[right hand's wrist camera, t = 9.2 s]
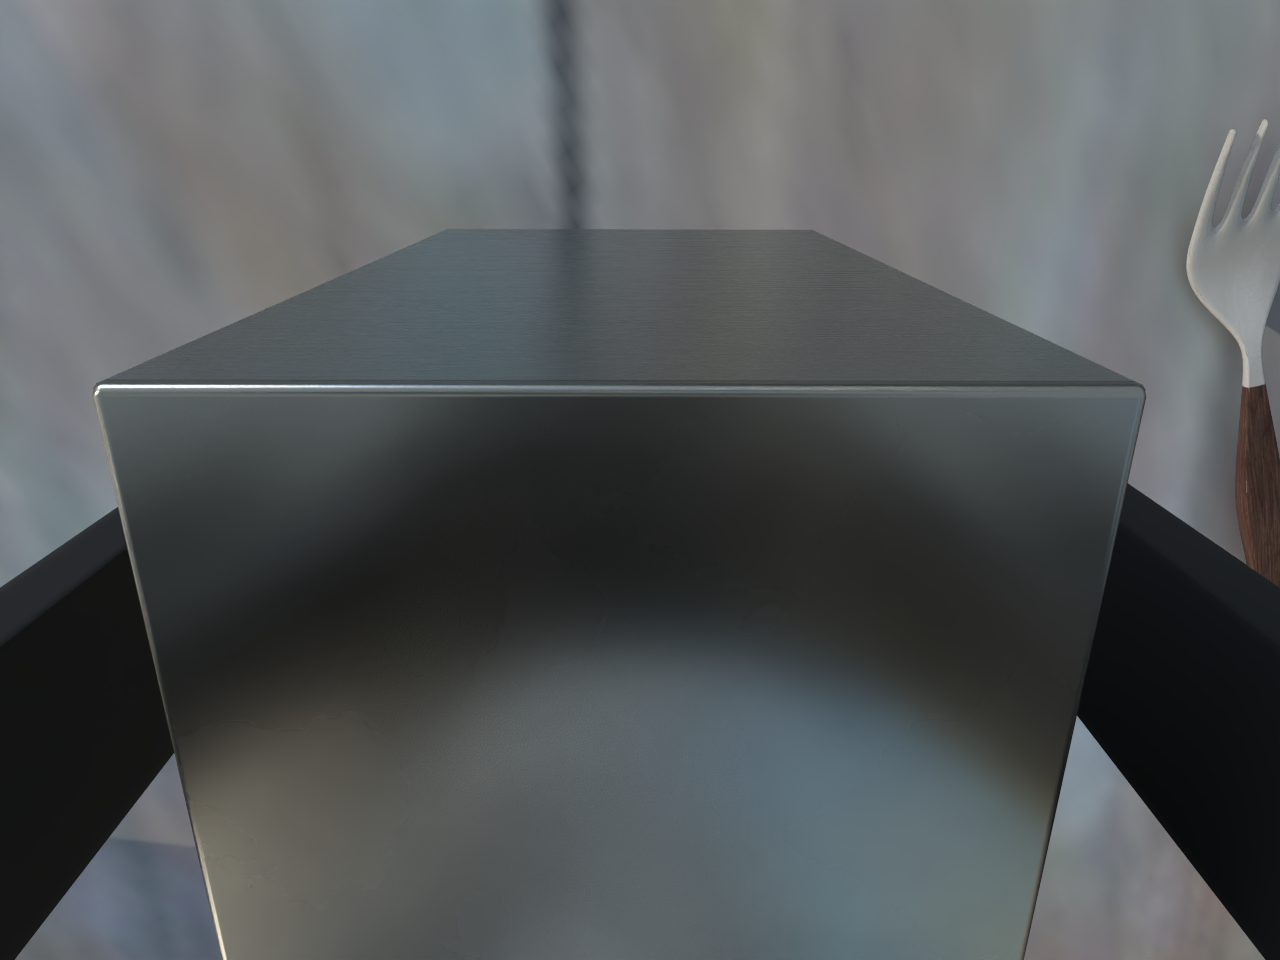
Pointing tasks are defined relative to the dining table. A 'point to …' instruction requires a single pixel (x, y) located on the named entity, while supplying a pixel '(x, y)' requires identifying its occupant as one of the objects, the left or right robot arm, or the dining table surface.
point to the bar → (621, 601)
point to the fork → (1246, 337)
